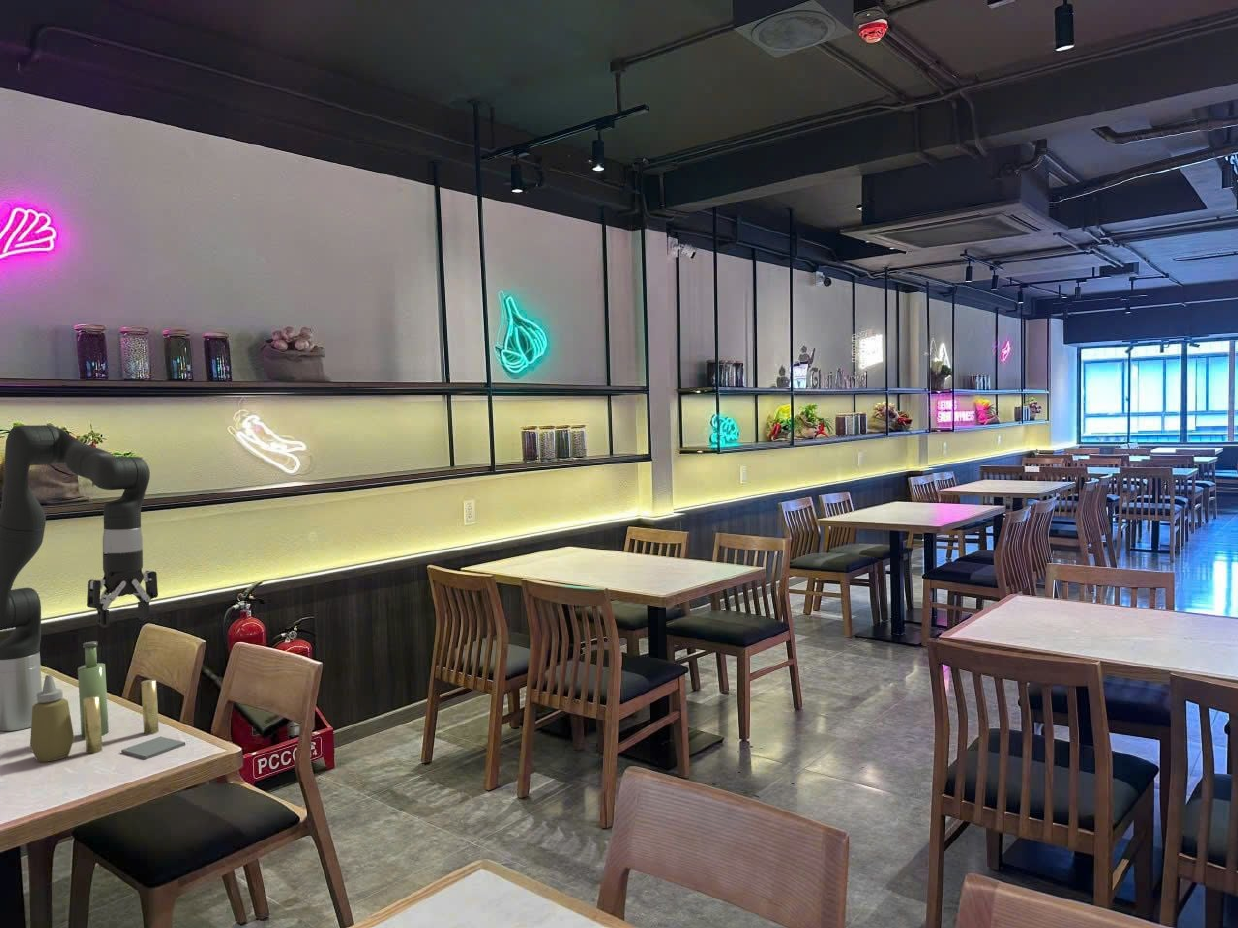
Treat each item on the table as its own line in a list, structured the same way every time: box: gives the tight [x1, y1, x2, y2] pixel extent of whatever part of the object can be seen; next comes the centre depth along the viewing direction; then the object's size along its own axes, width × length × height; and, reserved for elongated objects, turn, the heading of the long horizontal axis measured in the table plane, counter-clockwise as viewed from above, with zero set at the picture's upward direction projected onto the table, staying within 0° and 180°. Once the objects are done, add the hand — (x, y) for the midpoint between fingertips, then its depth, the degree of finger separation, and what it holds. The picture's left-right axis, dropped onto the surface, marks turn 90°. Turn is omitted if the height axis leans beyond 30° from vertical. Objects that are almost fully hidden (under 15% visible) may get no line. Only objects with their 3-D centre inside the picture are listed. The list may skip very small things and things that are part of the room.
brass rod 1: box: [83, 695, 103, 755], centre depth 185 cm, size 3×3×12 cm
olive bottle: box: [77, 640, 110, 739], centre depth 196 cm, size 5×5×22 cm
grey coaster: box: [120, 736, 186, 760], centre depth 185 cm, size 9×9×1 cm
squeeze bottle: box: [29, 674, 75, 763], centre depth 182 cm, size 8×8×18 cm
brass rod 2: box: [140, 679, 160, 735], centre depth 196 cm, size 3×3×12 cm
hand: (123, 622), depth 183 cm, fingers open, 8 cm apart
